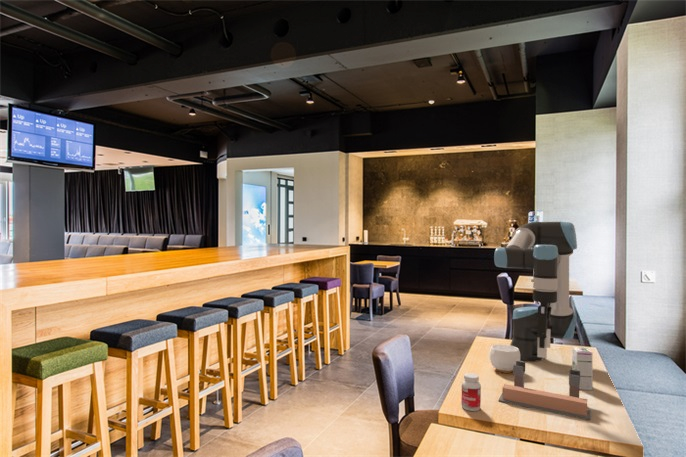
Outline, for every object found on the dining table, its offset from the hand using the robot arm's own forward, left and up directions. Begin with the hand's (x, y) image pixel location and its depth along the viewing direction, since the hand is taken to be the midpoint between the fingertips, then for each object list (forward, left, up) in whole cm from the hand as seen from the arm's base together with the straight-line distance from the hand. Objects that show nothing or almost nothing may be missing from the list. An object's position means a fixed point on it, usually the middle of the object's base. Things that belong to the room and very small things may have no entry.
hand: (544, 352), depth 147 cm
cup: (-32, -18, -19) cm, 41 cm away
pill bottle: (+14, -21, -19) cm, 32 cm away
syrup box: (-28, +11, -19) cm, 35 cm away
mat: (0, 0, -19) cm, 19 cm away
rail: (0, 0, -18) cm, 18 cm away
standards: (-9, 0, -19) cm, 21 cm away
